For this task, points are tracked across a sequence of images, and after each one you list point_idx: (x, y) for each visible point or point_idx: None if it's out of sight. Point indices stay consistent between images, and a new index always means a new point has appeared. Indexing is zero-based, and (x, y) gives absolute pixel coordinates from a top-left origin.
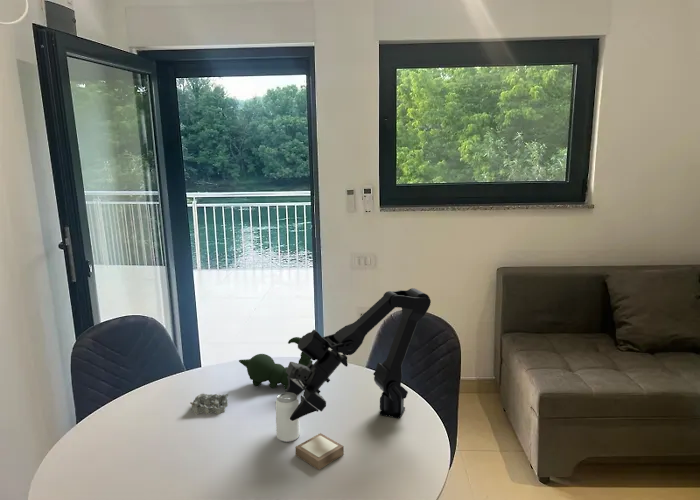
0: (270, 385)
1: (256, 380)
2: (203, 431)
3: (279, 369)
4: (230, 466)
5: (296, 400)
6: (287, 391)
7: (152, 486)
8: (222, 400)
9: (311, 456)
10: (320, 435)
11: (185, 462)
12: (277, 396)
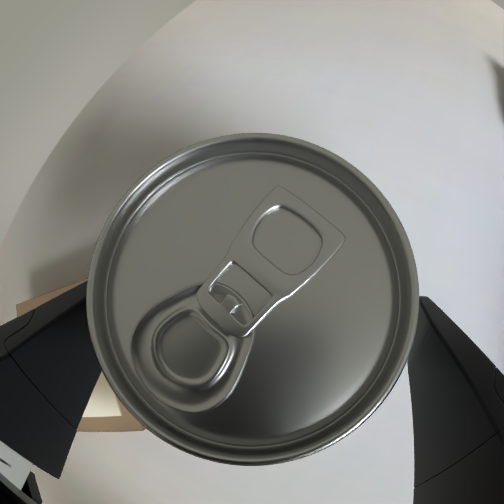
0: None
1: None
2: (431, 64)
3: None
4: (206, 74)
5: (141, 398)
6: (472, 388)
7: None
8: None
9: (37, 297)
10: (125, 418)
11: (290, 11)
12: (340, 158)
